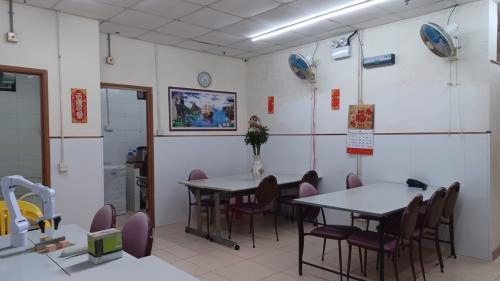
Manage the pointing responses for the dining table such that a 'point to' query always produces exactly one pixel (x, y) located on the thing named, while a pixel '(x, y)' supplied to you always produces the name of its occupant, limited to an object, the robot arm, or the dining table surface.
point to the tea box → (104, 245)
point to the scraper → (48, 242)
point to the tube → (75, 251)
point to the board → (46, 251)
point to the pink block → (50, 248)
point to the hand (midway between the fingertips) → (49, 231)
